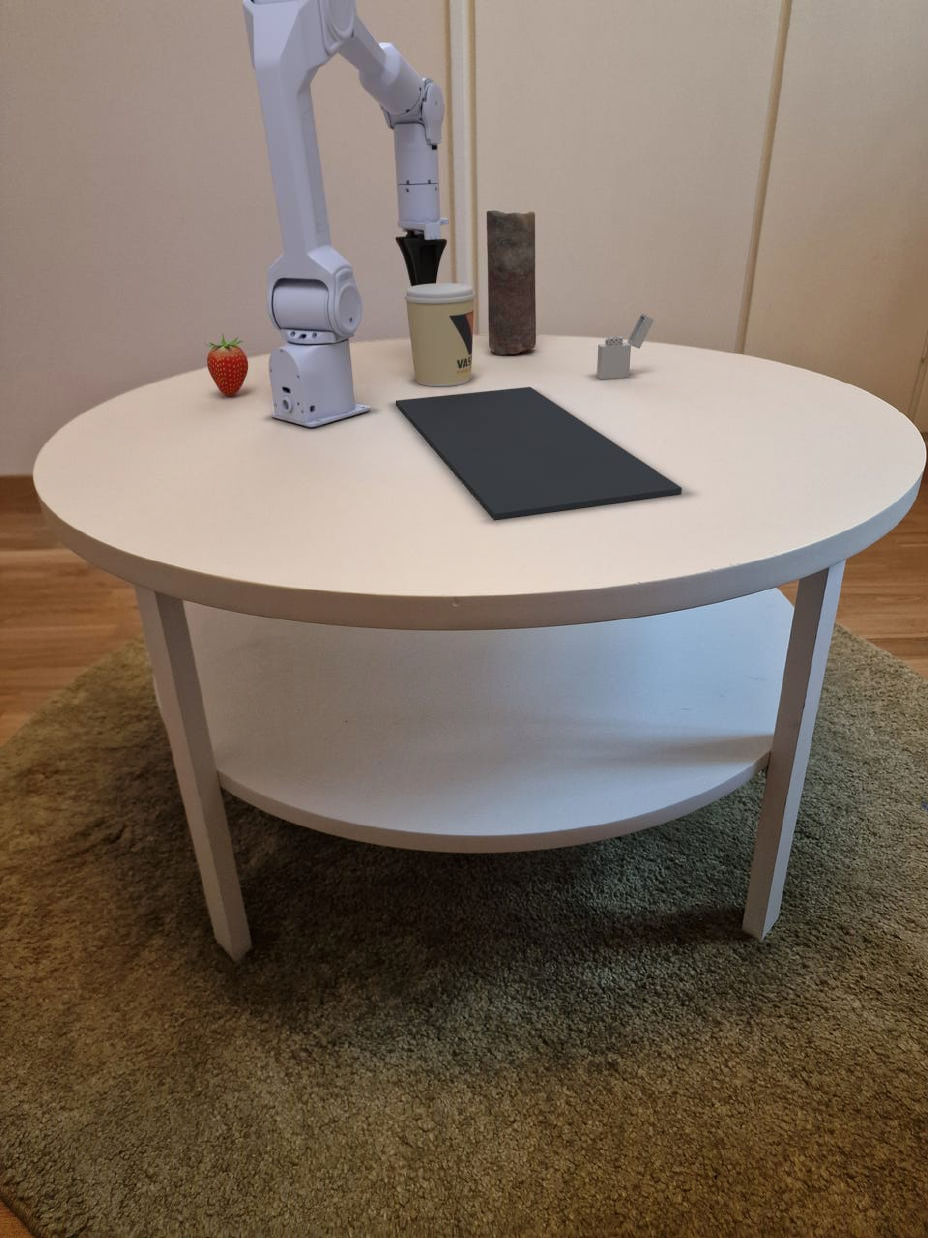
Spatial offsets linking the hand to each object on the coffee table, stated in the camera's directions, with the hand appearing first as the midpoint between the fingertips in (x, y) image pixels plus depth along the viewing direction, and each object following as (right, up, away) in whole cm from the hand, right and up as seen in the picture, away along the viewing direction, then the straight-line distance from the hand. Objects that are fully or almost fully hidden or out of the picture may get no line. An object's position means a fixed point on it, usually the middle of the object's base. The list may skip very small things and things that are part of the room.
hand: (423, 290), depth 121 cm
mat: (+11, -28, -29) cm, 41 cm away
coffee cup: (+3, -14, -3) cm, 14 cm away
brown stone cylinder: (+13, -5, +12) cm, 19 cm away
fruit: (-25, -17, -7) cm, 31 cm away
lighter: (+28, -13, -4) cm, 31 cm away
